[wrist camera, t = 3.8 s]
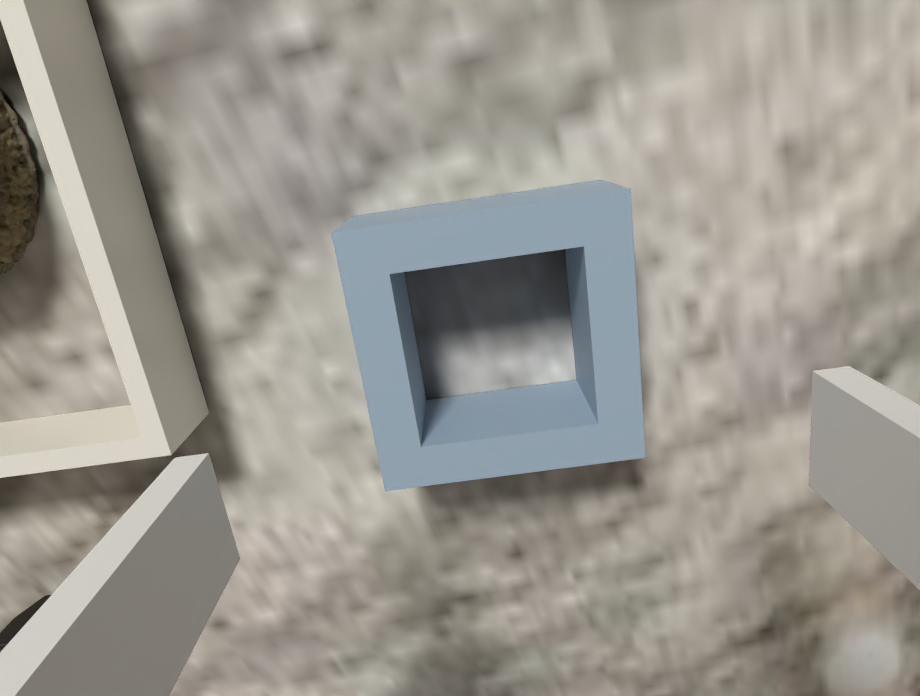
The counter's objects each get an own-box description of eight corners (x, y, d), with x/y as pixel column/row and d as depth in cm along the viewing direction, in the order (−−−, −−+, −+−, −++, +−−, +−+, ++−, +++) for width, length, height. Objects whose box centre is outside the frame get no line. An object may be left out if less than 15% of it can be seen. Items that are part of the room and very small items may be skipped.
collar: (352, 216, 23) (331, 232, 19) (601, 179, 22) (630, 188, 18) (395, 438, 26) (385, 491, 22) (616, 409, 25) (645, 457, 21)
